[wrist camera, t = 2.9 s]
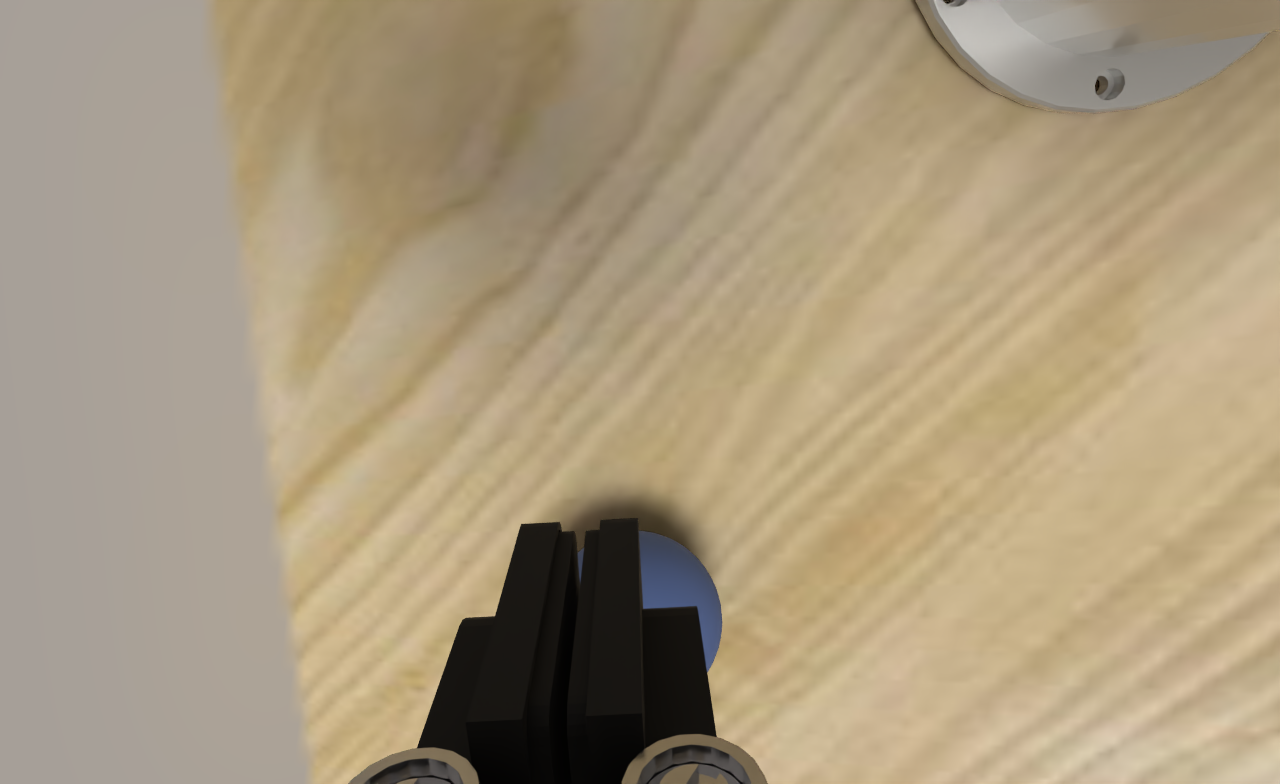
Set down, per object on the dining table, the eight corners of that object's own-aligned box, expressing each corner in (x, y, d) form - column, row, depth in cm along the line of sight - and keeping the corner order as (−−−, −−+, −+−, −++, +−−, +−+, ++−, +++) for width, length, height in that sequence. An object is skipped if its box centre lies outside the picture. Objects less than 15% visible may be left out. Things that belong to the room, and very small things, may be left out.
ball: (549, 504, 28) (527, 597, 23) (711, 496, 28) (730, 588, 23) (562, 642, 30) (545, 759, 25) (714, 635, 30) (733, 750, 25)
